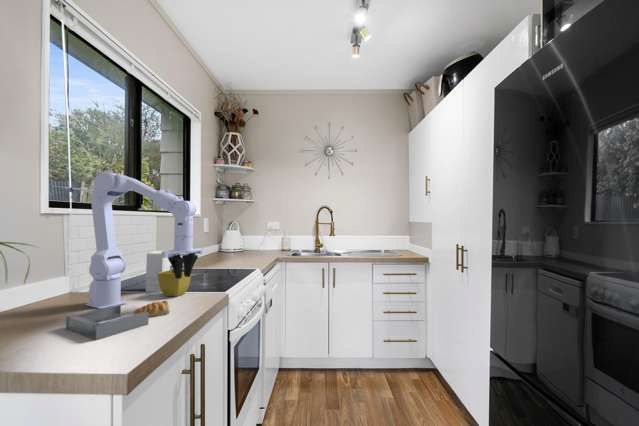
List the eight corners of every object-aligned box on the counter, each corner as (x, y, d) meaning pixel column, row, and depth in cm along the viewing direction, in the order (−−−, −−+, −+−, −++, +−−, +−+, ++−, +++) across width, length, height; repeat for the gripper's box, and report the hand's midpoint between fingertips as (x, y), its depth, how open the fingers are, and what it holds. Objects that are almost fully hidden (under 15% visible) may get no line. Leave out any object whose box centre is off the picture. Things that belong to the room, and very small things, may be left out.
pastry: (136, 321, 87) (136, 307, 87) (131, 315, 93) (132, 302, 93) (171, 314, 93) (171, 302, 94) (165, 309, 99) (165, 297, 99)
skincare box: (154, 287, 128) (155, 250, 129) (170, 287, 129) (171, 250, 129) (144, 292, 120) (145, 252, 120) (162, 292, 121) (163, 252, 121)
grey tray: (65, 328, 80) (65, 316, 80) (117, 315, 92) (117, 304, 92) (96, 340, 73) (96, 326, 73) (148, 324, 84) (148, 312, 84)
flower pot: (156, 297, 113) (156, 272, 113) (171, 291, 122) (172, 269, 122) (178, 298, 111) (178, 273, 112) (191, 292, 120) (192, 269, 120)
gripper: (171, 238, 94) (171, 282, 94) (209, 236, 107) (208, 275, 107) (157, 237, 98) (156, 280, 98) (195, 235, 111) (194, 273, 110)
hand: (182, 277), depth 102 cm, fingers open, 3 cm apart
